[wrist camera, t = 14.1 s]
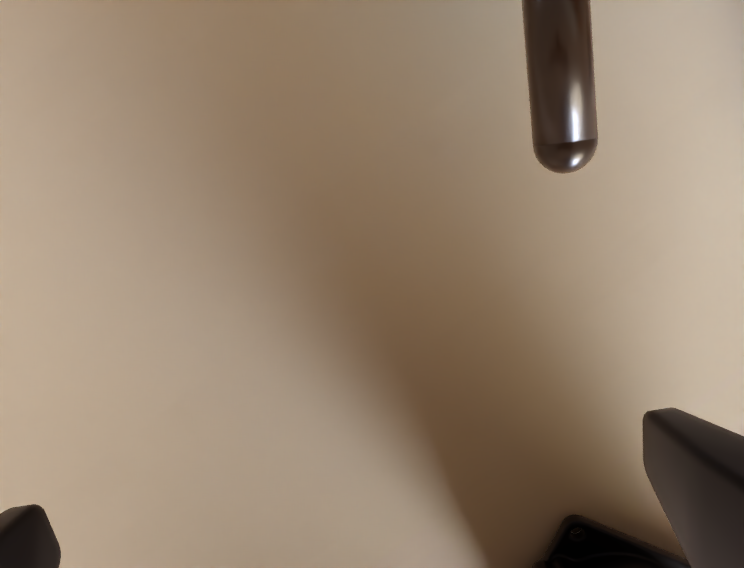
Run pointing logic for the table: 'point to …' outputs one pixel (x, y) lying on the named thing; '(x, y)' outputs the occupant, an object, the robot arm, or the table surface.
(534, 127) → the pot handle
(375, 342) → the table surface
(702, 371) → the table surface
